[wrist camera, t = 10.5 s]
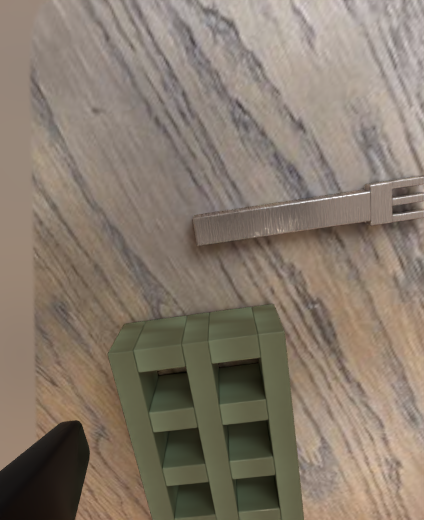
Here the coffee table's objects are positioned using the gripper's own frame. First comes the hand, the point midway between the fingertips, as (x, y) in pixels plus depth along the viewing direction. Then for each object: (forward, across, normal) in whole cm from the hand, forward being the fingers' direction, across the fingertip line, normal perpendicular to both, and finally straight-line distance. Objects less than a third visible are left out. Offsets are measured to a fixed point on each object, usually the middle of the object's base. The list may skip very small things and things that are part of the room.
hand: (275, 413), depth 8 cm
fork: (+12, +2, -2) cm, 13 cm away
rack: (+13, +3, +10) cm, 17 cm away
